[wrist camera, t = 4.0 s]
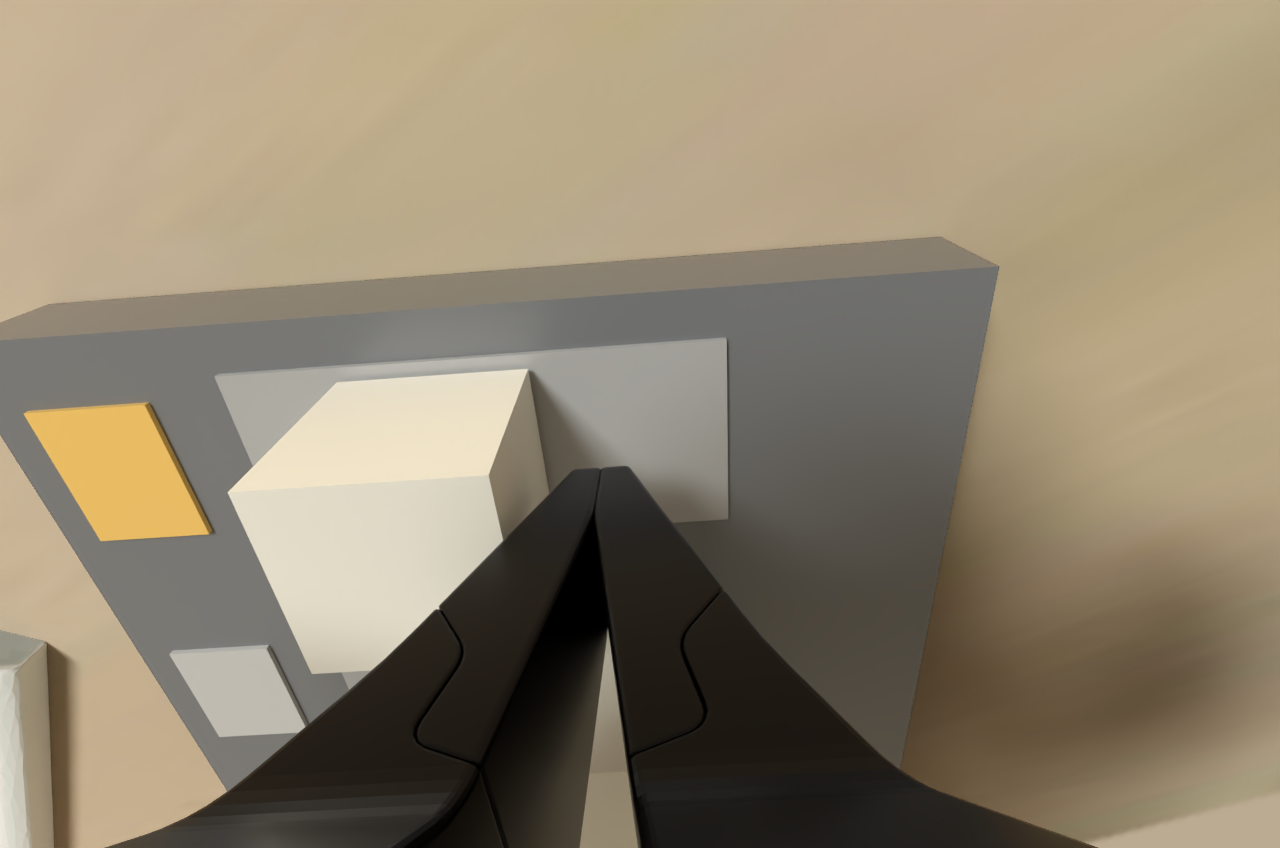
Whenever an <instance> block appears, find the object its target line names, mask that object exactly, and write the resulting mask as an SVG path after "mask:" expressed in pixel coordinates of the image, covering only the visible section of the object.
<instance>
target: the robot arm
mask: <svg viewBox="0 0 1280 848" xmlns="http://www.w3.org/2000/svg"><path fill="white" fill-rule="evenodd" d="M607 632H609V640H610V647H611V655H612V662H613V669H614V677H615V684H616V692H617V699H618V706H619V714H620V721H621V728H622V736H623V743H624V751H625V758H626V765H627V773H628V780H629V787H630V795H631V802H632V810H633V817H634V824H635V832H636V839H637V846H638V848H1097V847H1095V846H1092V845H1089V844H1086V843H1083V842H1081V841H1078V840H1075V839H1072V838H1069V837H1066V836H1064V835H1061V834H1058V833H1055V832H1052V831H1049V830H1047V829H1044V828H1041V827H1038V826H1035V825H1033V824H1030V823H1027V822H1024V821H1021V820H1018V819H1016V818H1013V817H1010V816H1007V815H1004V814H1001V813H999V812H996V811H993V810H990V809H987V808H985V807H982V806H979V805H976V804H973V803H970V802H968V801H965V800H962V799H959V798H956V797H953V796H951V795H948V794H945V793H942V792H940V791H937V790H935V789H932V788H930V787H928V786H926V785H924V784H922V783H921V782H919V781H917V780H915V779H914V778H912V777H911V776H909V775H908V774H906V773H905V772H903V771H902V770H900V769H899V768H898V767H896V766H895V765H894V764H893V763H891V762H890V761H889V760H888V759H886V758H885V757H884V756H883V755H882V754H881V753H879V752H878V751H877V750H876V749H875V748H874V747H873V746H872V745H871V744H870V743H869V742H868V741H867V740H866V739H865V738H864V737H863V736H862V735H861V734H859V733H858V732H857V731H856V730H855V729H854V728H853V727H852V726H851V725H850V724H849V723H848V722H847V721H846V720H845V719H844V718H843V717H842V716H841V715H840V714H839V713H838V712H837V711H836V710H835V709H834V708H833V707H832V706H831V705H830V704H829V703H828V702H827V701H826V700H825V699H824V698H823V697H822V696H821V695H820V694H819V693H818V692H816V691H815V690H814V689H813V688H812V687H811V686H810V685H809V684H808V683H807V682H806V681H805V680H804V679H803V678H802V677H801V676H800V675H799V674H798V673H797V672H796V671H795V670H794V669H793V668H792V667H791V666H790V665H789V664H788V663H787V662H786V661H785V660H784V659H783V658H782V657H781V656H780V655H779V654H778V653H777V652H776V651H775V650H774V648H773V647H772V646H771V645H770V644H769V643H768V642H767V641H766V640H765V639H764V638H763V637H762V636H761V635H760V633H759V632H758V631H757V630H756V629H755V627H754V626H753V625H752V624H751V623H750V621H749V620H748V619H747V618H746V617H745V615H744V614H743V613H742V612H741V611H740V609H739V608H738V607H737V605H736V604H735V603H734V601H733V600H732V599H731V598H730V596H729V595H728V594H727V593H726V592H724V589H723V588H722V586H721V585H720V584H719V582H718V581H717V580H716V578H715V577H714V576H713V575H712V573H711V572H710V571H709V569H708V568H707V567H706V565H705V564H704V563H703V562H702V560H701V559H700V558H699V556H698V555H697V554H696V552H695V551H694V550H693V549H692V547H691V546H690V545H689V543H688V542H687V541H686V539H685V538H684V537H683V536H682V534H681V533H680V532H679V530H678V529H677V528H676V526H675V525H674V524H673V523H672V521H671V520H670V519H669V517H668V516H667V515H666V513H665V512H664V511H663V510H662V508H661V507H660V506H659V504H658V503H657V502H656V500H655V499H654V498H653V497H652V495H651V494H650V493H649V491H648V490H647V489H646V487H645V486H644V485H643V484H642V482H641V481H640V480H639V478H638V477H637V476H636V474H635V473H634V472H633V471H632V469H631V468H630V467H628V466H612V467H604V468H602V469H600V468H582V469H574V470H573V471H571V472H570V473H569V474H568V475H567V476H566V477H565V478H564V479H563V480H562V481H561V482H560V483H559V484H558V485H557V486H556V487H555V488H554V489H553V490H552V491H551V492H550V493H549V494H548V495H547V496H546V497H545V498H544V500H543V501H542V502H541V503H540V504H539V505H538V506H537V507H536V508H535V509H534V510H533V511H532V512H531V513H530V514H529V515H528V516H527V517H526V518H525V519H524V520H523V521H522V522H521V523H520V524H519V525H518V526H517V527H516V528H515V529H514V530H513V531H512V532H511V533H510V534H509V535H508V536H507V537H506V538H505V539H504V540H503V541H502V542H501V543H500V544H499V545H498V546H497V547H496V548H495V549H494V550H493V551H492V552H491V553H490V554H489V555H488V556H487V557H486V558H485V559H484V560H483V561H482V562H481V563H480V564H479V565H478V566H477V567H476V568H475V569H474V571H473V572H472V573H471V574H470V575H469V576H468V577H467V578H466V579H465V580H464V581H463V582H462V583H461V584H460V585H459V586H458V587H457V588H456V589H455V590H454V591H453V592H452V593H451V594H450V595H449V596H448V597H447V598H446V599H445V600H444V601H443V602H442V603H441V604H440V605H439V609H435V610H434V611H433V612H432V613H431V614H430V615H429V616H428V617H427V618H426V619H425V620H424V621H423V622H422V623H421V624H420V625H419V626H418V627H417V628H416V629H415V630H414V631H413V632H412V633H411V634H410V635H409V636H408V637H407V638H406V639H405V640H404V641H402V642H401V643H400V644H399V645H398V646H397V647H396V648H395V649H394V650H393V651H392V652H391V653H390V654H389V655H388V656H387V657H386V658H385V659H384V660H383V661H381V662H380V663H379V664H378V665H377V666H376V667H375V668H373V669H372V670H371V671H370V672H369V673H368V674H367V675H365V676H364V677H363V678H362V679H361V680H360V681H359V682H358V683H356V684H355V685H354V686H353V687H352V688H351V689H350V690H348V691H347V692H346V693H345V694H344V695H343V696H341V697H340V698H339V699H338V700H337V701H335V702H334V703H333V704H332V705H331V706H330V707H328V708H327V709H326V710H325V711H324V712H322V713H321V714H320V715H319V716H318V717H317V718H315V719H314V720H313V721H312V722H311V723H309V724H308V725H307V726H306V727H305V728H303V729H302V730H301V731H300V732H299V733H298V734H296V735H295V736H294V737H293V738H292V739H290V740H289V741H288V742H287V743H286V744H285V745H283V746H282V747H281V748H280V749H279V750H277V751H276V752H275V753H274V754H273V755H272V756H270V757H269V758H268V759H267V760H266V761H264V762H263V763H262V764H261V765H260V766H258V767H257V768H256V769H255V770H254V771H253V772H251V773H250V774H249V775H248V776H247V777H245V778H244V779H243V780H242V781H240V782H239V783H238V784H236V785H235V786H234V787H233V788H231V789H230V790H229V791H228V792H226V793H225V794H223V795H222V796H220V797H219V798H217V799H216V800H214V801H213V802H212V803H210V804H209V805H207V806H206V807H204V808H202V809H200V810H198V811H197V812H195V813H193V814H191V815H190V816H188V817H186V818H184V819H182V820H180V821H177V822H175V823H173V824H171V825H169V826H166V827H164V828H162V829H159V830H157V831H154V832H151V833H149V834H146V835H143V836H140V837H137V838H134V839H131V840H127V841H124V842H121V843H118V844H115V845H112V846H109V847H106V848H580V840H581V833H582V825H583V817H584V810H585V802H586V795H587V787H588V779H589V772H590V764H591V756H592V749H593V741H594V733H595V726H596V718H597V710H598V703H599V695H600V687H601V680H602V672H603V664H604V657H605V649H606V641H607Z"/></svg>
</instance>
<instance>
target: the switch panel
mask: <svg viewBox="0 0 1280 848" xmlns="http://www.w3.org/2000/svg"><path fill="white" fill-rule="evenodd" d="M998 270H999V266H998V265H996V264H994V263H992V262H990V261H988V260H986V259H984V258H982V257H980V256H978V255H976V254H974V253H972V252H970V251H968V250H966V249H964V248H962V247H960V246H958V245H956V244H954V243H952V242H950V241H948V240H946V239H944V238H942V237H932V238H919V239H906V240H892V241H879V242H866V243H853V244H840V245H826V246H813V247H800V248H787V249H773V250H760V251H747V252H734V253H721V254H707V255H694V256H681V257H668V258H655V259H641V260H628V261H615V262H602V263H588V264H575V265H562V266H549V267H536V268H522V269H509V270H496V271H483V272H469V273H456V274H443V275H430V276H417V277H403V278H390V279H377V280H364V281H350V282H337V283H324V284H311V285H298V286H284V287H271V288H258V289H245V290H232V291H218V292H205V293H192V294H179V295H165V296H152V297H139V298H126V299H113V300H99V301H86V302H73V303H60V304H48V305H46V306H43V307H40V308H38V309H35V310H33V311H30V312H27V313H25V314H22V315H19V316H17V317H14V318H12V319H9V320H6V321H4V322H1V323H0V435H1V437H2V438H3V440H4V442H5V443H6V445H7V446H8V448H9V449H10V451H11V453H12V454H13V456H14V457H15V459H16V460H17V462H18V464H19V465H20V467H21V468H22V470H23V471H24V473H25V475H26V476H27V478H28V479H29V481H30V482H31V484H32V486H33V487H34V489H35V490H36V492H37V493H38V495H39V496H40V498H41V500H42V501H43V503H44V504H45V506H46V507H47V509H48V511H49V512H50V514H51V515H52V517H53V518H54V520H55V522H56V523H57V525H58V526H59V528H60V529H61V531H62V533H63V534H64V536H65V537H66V539H67V540H68V542H69V544H70V545H71V547H72V548H73V550H74V551H75V553H76V555H77V556H78V558H79V559H80V561H81V562H82V564H83V566H84V567H85V569H86V570H87V572H88V573H89V575H90V576H91V578H92V580H93V581H94V583H95V584H96V586H97V587H98V589H99V591H100V592H101V594H102V595H103V597H104V598H105V600H106V602H107V603H108V605H109V606H110V608H111V609H112V611H113V613H114V614H115V616H116V617H117V619H118V620H119V622H120V624H121V625H122V627H123V628H124V630H125V631H126V633H127V635H128V636H129V638H130V639H131V641H132V642H133V644H134V645H135V647H136V649H137V650H138V652H139V653H140V655H141V656H142V658H143V660H144V661H145V663H146V664H147V666H148V667H149V669H150V671H151V672H152V674H153V675H154V677H155V678H156V680H157V682H158V683H159V685H160V686H161V688H162V689H163V691H164V693H165V694H166V696H167V697H168V699H169V700H170V702H171V704H172V705H173V707H174V708H175V710H176V711H177V713H178V715H179V716H180V718H181V719H182V721H183V722H184V724H185V725H186V727H187V729H188V730H189V732H190V733H191V735H192V736H193V738H194V740H195V741H196V743H197V744H198V746H199V747H200V749H201V751H202V752H203V754H204V755H205V757H206V758H207V760H208V762H209V763H210V765H211V766H212V768H213V769H214V771H215V773H216V774H217V776H218V777H219V779H220V780H221V782H222V784H223V785H224V787H225V788H226V790H227V791H229V790H230V789H231V788H233V787H234V786H235V785H236V784H238V783H239V782H240V781H242V780H243V779H244V778H245V777H247V776H248V775H249V774H250V773H251V772H253V771H254V770H255V769H256V768H257V767H258V766H260V765H261V764H262V763H263V762H264V761H266V760H267V759H268V758H269V757H270V756H272V755H273V754H274V753H275V752H276V751H277V750H279V749H280V748H281V747H282V746H283V745H285V744H286V743H287V742H288V741H289V740H290V739H292V738H293V737H294V736H295V735H296V734H298V733H299V732H300V731H301V730H302V729H303V728H305V727H306V726H307V725H308V724H309V723H311V722H312V721H313V720H314V719H315V718H317V717H318V716H319V715H320V714H321V713H322V712H324V711H325V710H326V709H327V708H328V707H330V706H331V705H332V704H333V703H334V702H335V701H337V700H338V699H339V698H340V697H341V696H343V695H344V694H345V693H346V692H347V691H348V690H350V689H351V688H352V687H353V686H354V685H355V684H356V683H358V682H359V681H360V680H361V679H362V678H363V677H364V676H365V675H367V674H368V673H369V672H370V671H356V672H339V673H321V674H312V673H311V671H310V669H309V667H308V665H307V663H306V660H305V658H304V656H303V654H302V652H301V650H300V648H299V645H298V643H297V641H296V639H295V637H294V635H293V632H292V630H291V628H290V626H289V624H288V622H287V620H286V617H285V615H284V613H283V611H282V609H281V607H280V604H279V602H278V600H277V598H276V596H275V594H274V591H273V589H272V587H271V585H270V583H269V581H268V579H267V576H266V574H265V572H264V570H263V568H262V566H261V563H260V561H259V559H258V557H257V555H256V553H255V551H254V548H253V546H252V544H251V542H250V540H249V538H248V535H247V533H246V531H245V529H244V527H243V525H242V523H241V520H240V518H239V516H238V514H237V512H236V510H235V507H234V505H233V503H232V501H231V499H230V497H229V495H228V492H229V491H230V489H231V488H232V487H233V486H234V485H235V484H236V483H237V482H238V481H239V480H240V479H241V478H242V477H243V476H244V475H245V474H246V473H247V472H248V471H249V470H250V469H251V468H252V467H253V466H254V465H255V464H256V463H257V462H258V461H259V460H260V459H261V458H262V457H263V456H264V455H265V454H266V453H267V452H268V451H269V450H270V449H271V448H272V447H273V446H274V445H275V444H276V443H277V442H278V441H279V440H280V439H281V438H282V437H283V436H284V435H285V434H286V433H287V432H288V431H289V430H290V429H291V428H292V427H293V426H294V425H295V424H296V423H297V422H298V421H299V420H300V419H301V418H302V417H303V416H304V415H305V414H306V413H307V412H308V411H309V410H310V409H311V408H312V407H313V406H314V405H315V404H316V403H317V402H318V401H319V400H320V399H321V398H322V397H323V396H324V395H325V394H326V393H327V392H328V391H329V390H330V389H331V388H332V387H333V386H334V385H335V384H336V383H337V382H348V381H362V380H376V379H390V378H404V377H419V376H433V375H447V374H461V373H475V372H489V371H503V370H517V369H528V371H529V377H530V383H531V389H532V394H533V400H534V406H535V412H536V418H537V424H538V429H539V435H540V441H541V447H542V453H543V459H544V464H545V470H546V476H547V482H548V488H549V493H550V492H551V491H552V490H553V489H554V488H555V487H556V486H557V485H558V484H559V483H560V482H561V481H562V480H563V479H564V478H565V477H566V476H567V475H568V474H569V473H570V472H571V471H573V470H574V469H582V468H600V469H602V468H604V467H612V466H628V467H630V468H631V469H632V471H633V472H634V473H635V474H636V476H637V477H638V478H639V480H640V481H641V482H642V484H643V485H644V486H645V487H646V489H647V490H648V491H649V493H650V494H651V495H652V497H653V498H654V499H655V500H656V502H657V503H658V504H659V506H660V507H661V508H662V510H663V511H664V512H665V513H666V515H667V516H668V517H669V519H670V520H671V521H672V523H673V524H674V525H675V526H676V528H677V529H678V530H679V532H680V533H681V534H682V536H683V537H684V538H685V539H686V541H687V542H688V543H689V545H690V546H691V547H692V549H693V550H694V551H695V552H696V554H697V555H698V556H699V558H700V559H701V560H702V562H703V563H704V564H705V565H706V567H707V568H708V569H709V571H710V572H711V573H712V575H713V576H714V577H715V578H716V580H717V581H718V582H719V584H720V585H721V586H722V588H723V589H724V592H726V593H727V594H728V595H729V596H730V598H731V599H732V600H733V601H734V603H735V604H736V605H737V607H738V608H739V609H740V611H741V612H742V613H743V614H744V615H745V617H746V618H747V619H748V620H749V621H750V623H751V624H752V625H753V626H754V627H755V629H756V630H757V631H758V632H759V633H760V635H761V636H762V637H763V638H764V639H765V640H766V641H767V642H768V643H769V644H770V645H771V646H772V647H773V648H774V650H775V651H776V652H777V653H778V654H779V655H780V656H781V657H782V658H783V659H784V660H785V661H786V662H787V663H788V664H789V665H790V666H791V667H792V668H793V669H794V670H795V671H796V672H797V673H798V674H799V675H800V676H801V677H802V678H803V679H804V680H805V681H806V682H807V683H808V684H809V685H810V686H811V687H812V688H813V689H814V690H815V691H816V692H818V693H819V694H820V695H821V696H822V697H823V698H824V699H825V700H826V701H827V702H828V703H829V704H830V705H831V706H832V707H833V708H834V709H835V710H836V711H837V712H838V713H839V714H840V715H841V716H842V717H843V718H844V719H845V720H846V721H847V722H848V723H849V724H850V725H851V726H852V727H853V728H854V729H855V730H856V731H857V732H858V733H859V734H861V735H862V736H863V737H864V738H865V739H866V740H867V741H868V742H869V743H870V744H871V745H872V746H873V747H874V748H875V749H876V750H877V751H878V752H879V753H881V754H882V755H883V756H884V757H885V758H886V759H888V760H889V761H890V762H891V763H893V764H894V765H895V766H896V767H898V768H899V769H900V767H901V762H902V757H903V752H904V747H905V742H906V737H907V732H908V727H909V722H910V717H911V711H912V706H913V701H914V696H915V691H916V686H917V681H918V676H919V671H920V666H921V661H922V656H923V651H924V646H925V640H926V635H927V630H928V625H929V620H930V615H931V610H932V605H933V600H934V595H935V590H936V585H937V580H938V575H939V570H940V564H941V559H942V554H943V549H944V544H945V539H946V534H947V529H948V524H949V519H950V514H951V509H952V504H953V499H954V493H955V488H956V483H957V478H958V473H959V468H960V463H961V458H962V453H963V448H964V443H965V438H966V433H967V428H968V422H969V417H970V412H971V407H972V402H973V397H974V392H975V387H976V382H977V377H978V372H979V367H980V362H981V357H982V351H983V346H984V341H985V336H986V331H987V326H988V321H989V316H990V311H991V306H992V301H993V296H994V291H995V286H996V280H997V275H998Z"/></svg>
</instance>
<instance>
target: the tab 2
mask: <svg viewBox="0 0 1280 848" xmlns="http://www.w3.org/2000/svg"><path fill="white" fill-rule="evenodd" d="M580 848H638V846H637V839H636V832H635V824H634V817H633V810H632V802H631V795H630V787H629V780H628V773H627V765H626V758H625V751H624V743H623V736H622V728H621V721H620V714H619V706H618V699H617V692H616V684H615V677H614V669H613V662H612V655H611V647H610V640H609V632H607V641H606V649H605V657H604V664H603V672H602V680H601V687H600V695H599V703H598V710H597V718H596V726H595V733H594V741H593V749H592V756H591V764H590V772H589V779H588V787H587V795H586V802H585V810H584V817H583V825H582V833H581V840H580Z"/></svg>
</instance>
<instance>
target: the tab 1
mask: <svg viewBox="0 0 1280 848" xmlns="http://www.w3.org/2000/svg"><path fill="white" fill-rule="evenodd" d="M548 494H549V488H548V482H547V476H546V470H545V464H544V459H543V453H542V447H541V441H540V435H539V429H538V424H537V418H536V412H535V406H534V400H533V394H532V389H531V383H530V377H529V371H528V369H517V370H503V371H489V372H475V373H461V374H447V375H433V376H419V377H404V378H390V379H376V380H362V381H348V382H337V383H336V384H335V385H334V386H333V387H332V388H331V389H330V390H329V391H328V392H327V393H326V394H325V395H324V396H323V397H322V398H321V399H320V400H319V401H318V402H317V403H316V404H315V405H314V406H313V407H312V408H311V409H310V410H309V411H308V412H307V413H306V414H305V415H304V416H303V417H302V418H301V419H300V420H299V421H298V422H297V423H296V424H295V425H294V426H293V427H292V428H291V429H290V430H289V431H288V432H287V433H286V434H285V435H284V436H283V437H282V438H281V439H280V440H279V441H278V442H277V443H276V444H275V445H274V446H273V447H272V448H271V449H270V450H269V451H268V452H267V453H266V454H265V455H264V456H263V457H262V458H261V459H260V460H259V461H258V462H257V463H256V464H255V465H254V466H253V467H252V468H251V469H250V470H249V471H248V472H247V473H246V474H245V475H244V476H243V477H242V478H241V479H240V480H239V481H238V482H237V483H236V484H235V485H234V486H233V487H232V488H231V489H230V491H229V492H228V495H229V497H230V499H231V501H232V503H233V505H234V507H235V510H236V512H237V514H238V516H239V518H240V520H241V523H242V525H243V527H244V529H245V531H246V533H247V535H248V538H249V540H250V542H251V544H252V546H253V548H254V551H255V553H256V555H257V557H258V559H259V561H260V563H261V566H262V568H263V570H264V572H265V574H266V576H267V579H268V581H269V583H270V585H271V587H272V589H273V591H274V594H275V596H276V598H277V600H278V602H279V604H280V607H281V609H282V611H283V613H284V615H285V617H286V620H287V622H288V624H289V626H290V628H291V630H292V632H293V635H294V637H295V639H296V641H297V643H298V645H299V648H300V650H301V652H302V654H303V656H304V658H305V660H306V663H307V665H308V667H309V669H310V671H311V673H312V674H321V673H339V672H356V671H371V670H372V669H373V668H375V667H376V666H377V665H378V664H379V663H380V662H381V661H383V660H384V659H385V658H386V657H387V656H388V655H389V654H390V653H391V652H392V651H393V650H394V649H395V648H396V647H397V646H398V645H399V644H400V643H401V642H402V641H404V640H405V639H406V638H407V637H408V636H409V635H410V634H411V633H412V632H413V631H414V630H415V629H416V628H417V627H418V626H419V625H420V624H421V623H422V622H423V621H424V620H425V619H426V618H427V617H428V616H429V615H430V614H431V613H432V612H433V611H434V610H435V609H439V605H440V604H441V603H442V602H443V601H444V600H445V599H446V598H447V597H448V596H449V595H450V594H451V593H452V592H453V591H454V590H455V589H456V588H457V587H458V586H459V585H460V584H461V583H462V582H463V581H464V580H465V579H466V578H467V577H468V576H469V575H470V574H471V573H472V572H473V571H474V569H475V568H476V567H477V566H478V565H479V564H480V563H481V562H482V561H483V560H484V559H485V558H486V557H487V556H488V555H489V554H490V553H491V552H492V551H493V550H494V549H495V548H496V547H497V546H498V545H499V544H500V543H501V542H502V541H503V540H504V539H505V538H506V537H507V536H508V535H509V534H510V533H511V532H512V531H513V530H514V529H515V528H516V527H517V526H518V525H519V524H520V523H521V522H522V521H523V520H524V519H525V518H526V517H527V516H528V515H529V514H530V513H531V512H532V511H533V510H534V509H535V508H536V507H537V506H538V505H539V504H540V503H541V502H542V501H543V500H544V498H545V497H546V496H547V495H548Z"/></svg>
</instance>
